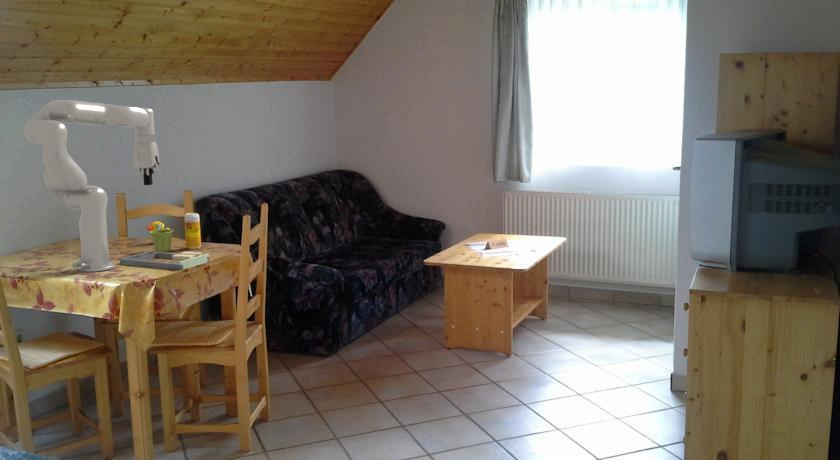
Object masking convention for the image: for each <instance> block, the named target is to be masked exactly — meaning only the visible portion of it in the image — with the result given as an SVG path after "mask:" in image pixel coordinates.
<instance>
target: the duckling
mask: <svg viewBox="0 0 840 460" xmlns="http://www.w3.org/2000/svg"><path fill="white" fill-rule="evenodd" d="M146 229H147V231H149V232H150V231H153V230H161V229H170V228H169V227H165V224H164V223H162V222H161V221H153V222H151V225H148V224H147V225H146ZM150 239H151V241H152V242H153V238H152V236H151V235H150Z"/></svg>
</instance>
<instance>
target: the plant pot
mask: <svg viewBox="0 0 840 460" xmlns="http://www.w3.org/2000/svg"><path fill="white" fill-rule="evenodd" d="M173 233H174V229H170V228H169V229H165V228H164V229H161V230H153V231H149V234H150V237H151V236H152V238H153V241H152V242H153V246H154V247H153V248H154V252H164V253H170V251H171V249H172V248H171V247H172V236H173Z"/></svg>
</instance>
